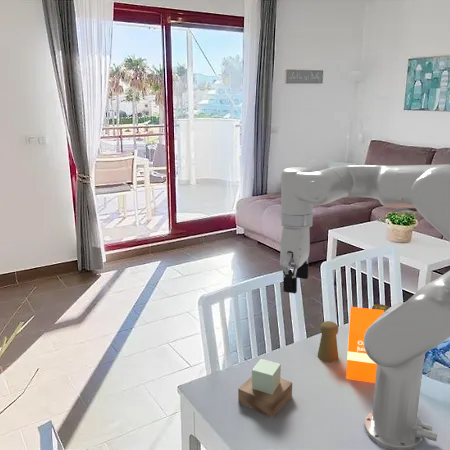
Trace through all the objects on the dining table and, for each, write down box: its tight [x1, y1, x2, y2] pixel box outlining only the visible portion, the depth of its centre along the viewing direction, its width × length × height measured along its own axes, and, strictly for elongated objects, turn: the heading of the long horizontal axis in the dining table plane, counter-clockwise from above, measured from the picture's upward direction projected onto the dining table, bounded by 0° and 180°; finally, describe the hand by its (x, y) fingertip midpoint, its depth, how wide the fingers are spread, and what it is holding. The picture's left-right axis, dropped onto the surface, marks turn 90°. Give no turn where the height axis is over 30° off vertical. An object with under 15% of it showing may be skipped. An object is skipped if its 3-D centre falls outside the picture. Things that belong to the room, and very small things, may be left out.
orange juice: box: [345, 306, 384, 384], centre depth 126 cm, size 8×9×20 cm
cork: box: [317, 320, 339, 363], centre depth 136 cm, size 6×6×11 cm
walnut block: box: [237, 376, 293, 419], centre depth 118 cm, size 10×10×4 cm
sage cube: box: [251, 358, 282, 395], centre depth 117 cm, size 6×6×6 cm
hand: (296, 284), depth 116 cm, fingers open, 9 cm apart
